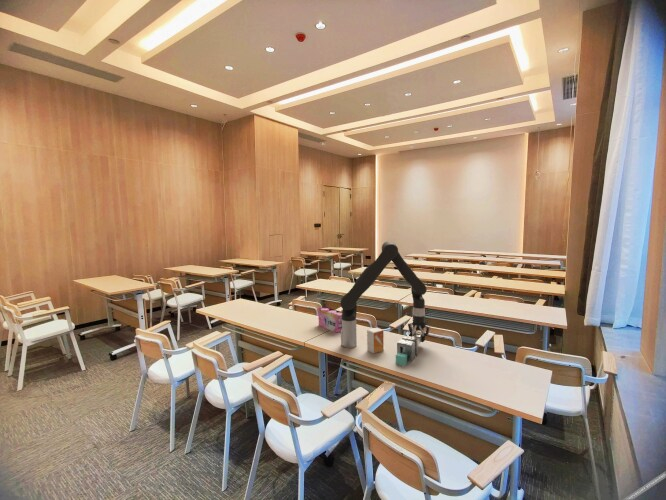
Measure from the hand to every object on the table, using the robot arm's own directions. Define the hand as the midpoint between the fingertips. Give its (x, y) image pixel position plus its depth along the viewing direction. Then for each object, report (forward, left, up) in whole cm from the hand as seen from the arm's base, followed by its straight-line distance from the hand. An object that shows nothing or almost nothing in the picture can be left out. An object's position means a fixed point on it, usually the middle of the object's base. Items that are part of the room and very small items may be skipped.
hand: (418, 340), depth 195 cm
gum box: (-67, 0, -3) cm, 67 cm away
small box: (-20, -21, -3) cm, 29 cm away
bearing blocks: (0, -20, -3) cm, 20 cm away
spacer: (0, -27, -1) cm, 27 cm away
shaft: (0, -11, 0) cm, 11 cm away
